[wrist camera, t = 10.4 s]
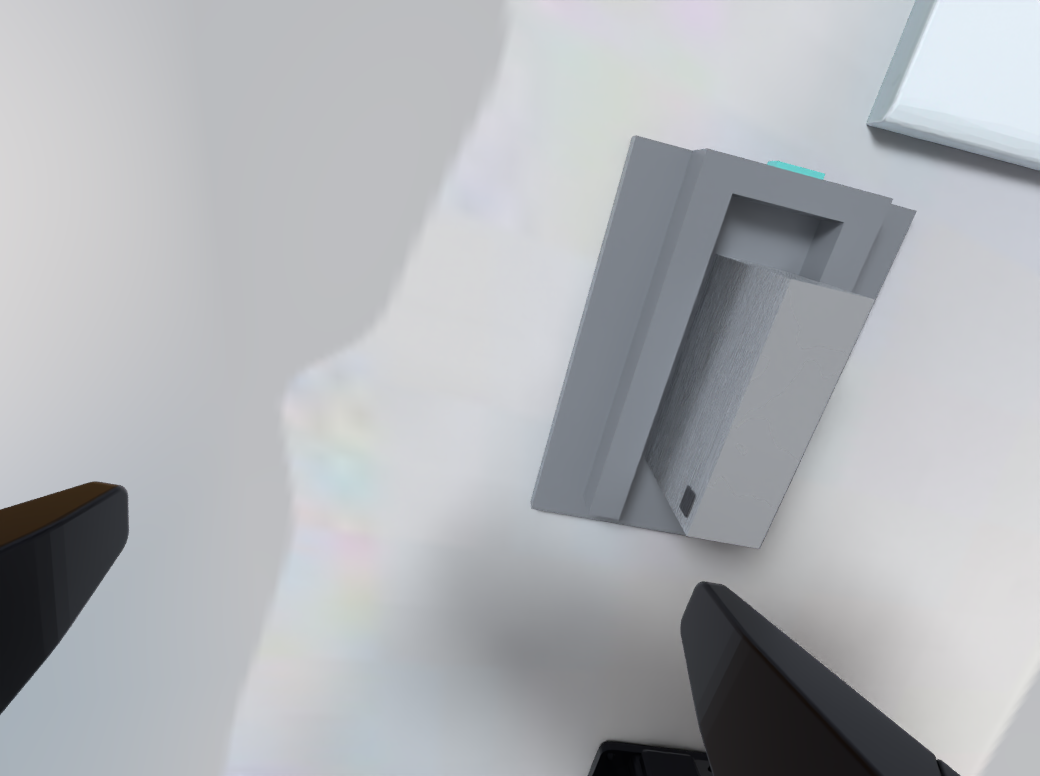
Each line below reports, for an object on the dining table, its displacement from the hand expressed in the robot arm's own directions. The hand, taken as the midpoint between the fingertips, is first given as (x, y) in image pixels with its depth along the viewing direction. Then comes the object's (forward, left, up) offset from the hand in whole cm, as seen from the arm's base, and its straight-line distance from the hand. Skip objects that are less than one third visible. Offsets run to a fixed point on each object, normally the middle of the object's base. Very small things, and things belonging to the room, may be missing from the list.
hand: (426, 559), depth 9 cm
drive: (+1, -9, -12) cm, 15 cm away
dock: (+1, -9, -12) cm, 15 cm away
